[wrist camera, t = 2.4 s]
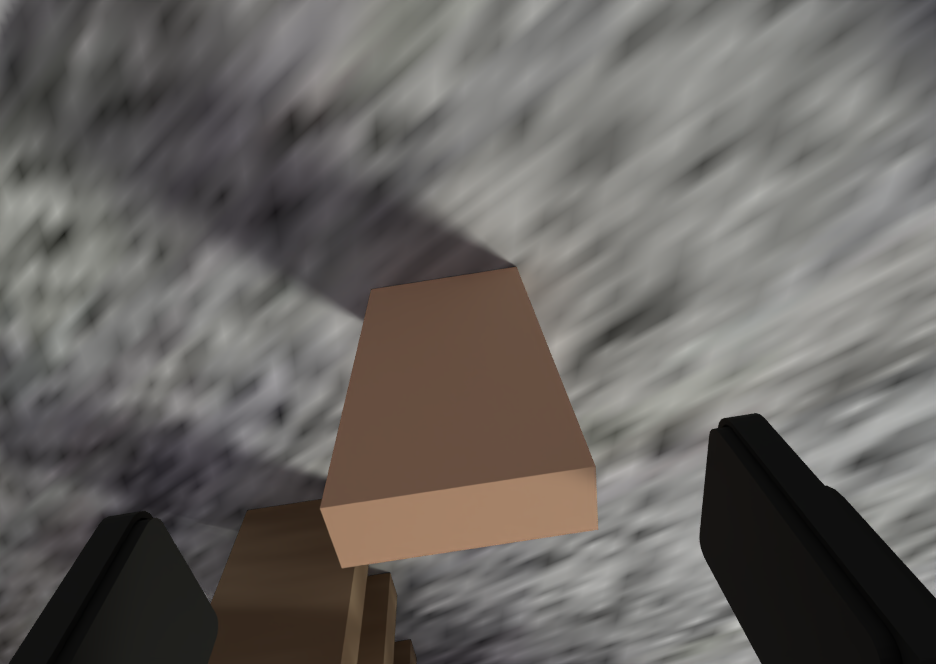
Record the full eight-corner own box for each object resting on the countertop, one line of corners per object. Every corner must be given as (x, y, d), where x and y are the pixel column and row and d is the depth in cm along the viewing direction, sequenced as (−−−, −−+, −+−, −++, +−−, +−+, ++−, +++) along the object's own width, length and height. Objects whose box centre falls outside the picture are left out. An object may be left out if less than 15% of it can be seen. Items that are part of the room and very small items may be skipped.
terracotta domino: (520, 308, 19) (597, 530, 11) (381, 330, 19) (341, 568, 11) (516, 266, 19) (595, 466, 10) (371, 289, 19) (319, 507, 10)
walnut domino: (373, 520, 24) (340, 803, 15) (259, 537, 24) (158, 830, 15) (365, 492, 23) (325, 773, 14) (247, 510, 23) (132, 801, 14)
